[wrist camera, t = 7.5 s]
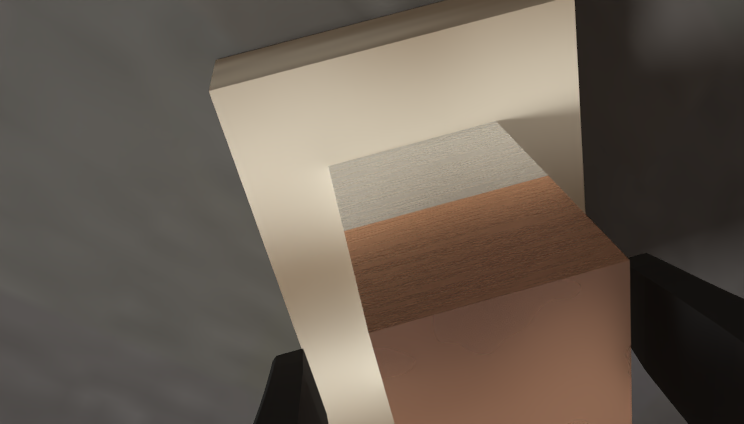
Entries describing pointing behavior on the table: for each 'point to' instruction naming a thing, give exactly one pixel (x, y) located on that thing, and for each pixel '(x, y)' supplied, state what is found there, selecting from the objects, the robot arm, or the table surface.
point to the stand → (384, 144)
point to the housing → (485, 286)
